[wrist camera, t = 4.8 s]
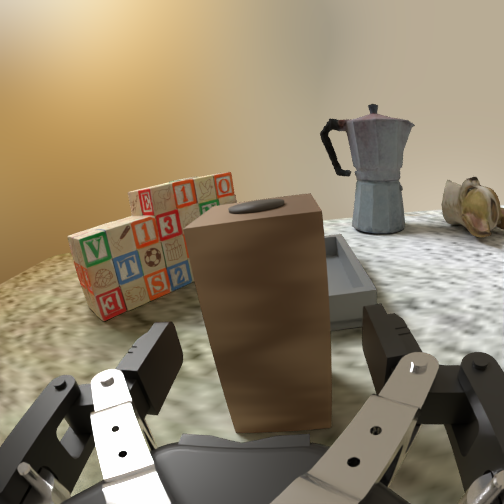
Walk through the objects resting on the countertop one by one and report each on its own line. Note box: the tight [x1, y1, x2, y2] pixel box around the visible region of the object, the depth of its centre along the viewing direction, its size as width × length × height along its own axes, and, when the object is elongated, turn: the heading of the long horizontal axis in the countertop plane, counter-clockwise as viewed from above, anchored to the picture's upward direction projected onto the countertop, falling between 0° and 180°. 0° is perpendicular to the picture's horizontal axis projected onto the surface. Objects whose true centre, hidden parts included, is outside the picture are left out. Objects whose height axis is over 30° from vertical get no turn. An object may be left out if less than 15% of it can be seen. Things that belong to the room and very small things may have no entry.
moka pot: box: [320, 104, 415, 233], centre depth 44 cm, size 10×15×20 cm, turn 73°
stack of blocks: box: [68, 172, 237, 321], centre depth 36 cm, size 21×6×12 cm, turn 136°
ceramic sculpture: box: [442, 177, 504, 237], centre depth 37 cm, size 11×9×15 cm
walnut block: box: [183, 194, 332, 433], centre depth 15 cm, size 5×5×11 cm
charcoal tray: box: [324, 234, 377, 331], centre depth 30 cm, size 12×16×3 cm
